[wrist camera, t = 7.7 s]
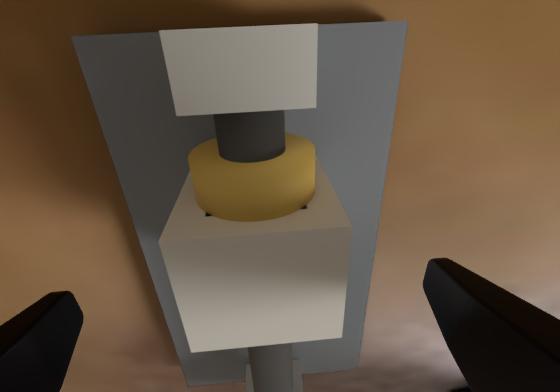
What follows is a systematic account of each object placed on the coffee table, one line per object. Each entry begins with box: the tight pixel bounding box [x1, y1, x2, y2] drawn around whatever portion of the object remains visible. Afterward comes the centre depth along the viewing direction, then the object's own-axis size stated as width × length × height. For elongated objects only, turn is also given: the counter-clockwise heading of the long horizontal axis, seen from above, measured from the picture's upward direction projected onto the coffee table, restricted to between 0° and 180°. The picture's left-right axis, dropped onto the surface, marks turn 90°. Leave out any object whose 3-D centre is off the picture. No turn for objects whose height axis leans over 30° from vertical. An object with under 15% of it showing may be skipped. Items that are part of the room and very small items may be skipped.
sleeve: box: [158, 156, 352, 353], centre depth 10 cm, size 4×4×4 cm
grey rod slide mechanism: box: [71, 21, 408, 392], centre depth 12 cm, size 18×10×5 cm, turn 2°
